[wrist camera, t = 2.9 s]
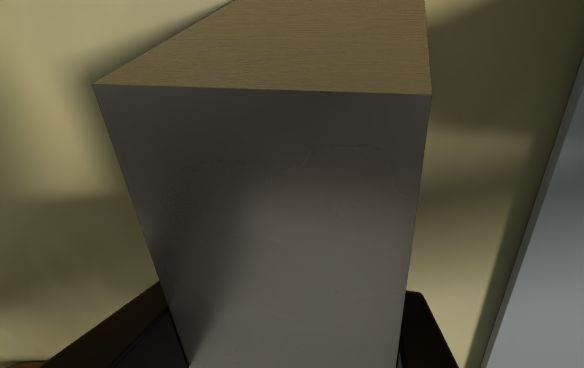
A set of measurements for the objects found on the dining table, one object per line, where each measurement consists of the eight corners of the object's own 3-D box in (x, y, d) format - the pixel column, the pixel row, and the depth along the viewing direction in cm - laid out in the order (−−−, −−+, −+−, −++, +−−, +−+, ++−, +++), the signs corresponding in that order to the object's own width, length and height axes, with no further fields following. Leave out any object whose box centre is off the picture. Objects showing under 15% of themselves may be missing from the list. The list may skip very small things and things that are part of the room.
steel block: (423, -13, 9) (431, 94, 4) (390, 299, 15) (378, 496, 10) (248, -8, 10) (91, 84, 5) (281, 283, 15) (220, 456, 11)
